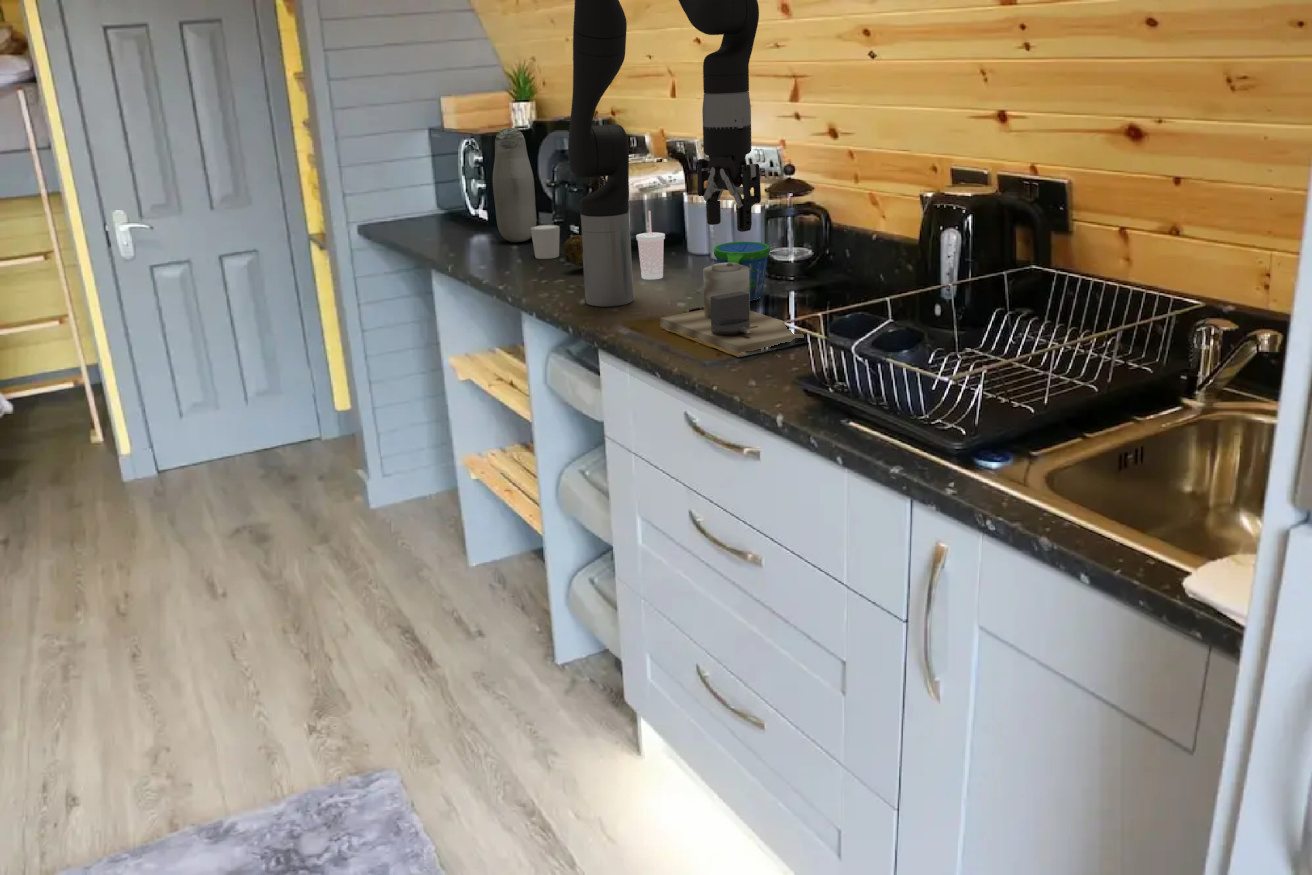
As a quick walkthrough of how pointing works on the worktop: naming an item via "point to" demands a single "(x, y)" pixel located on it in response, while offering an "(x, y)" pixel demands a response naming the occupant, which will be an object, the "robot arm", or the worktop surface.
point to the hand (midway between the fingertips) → (728, 227)
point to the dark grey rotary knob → (730, 314)
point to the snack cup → (747, 261)
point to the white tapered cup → (545, 241)
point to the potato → (574, 250)
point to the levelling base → (731, 341)
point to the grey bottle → (513, 186)
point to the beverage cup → (651, 253)
